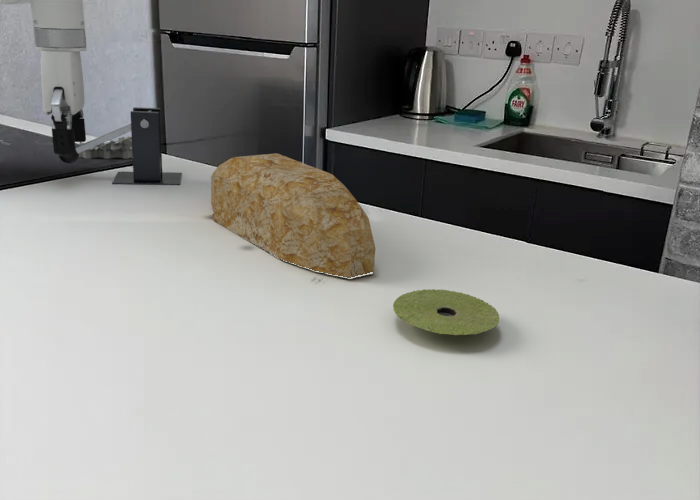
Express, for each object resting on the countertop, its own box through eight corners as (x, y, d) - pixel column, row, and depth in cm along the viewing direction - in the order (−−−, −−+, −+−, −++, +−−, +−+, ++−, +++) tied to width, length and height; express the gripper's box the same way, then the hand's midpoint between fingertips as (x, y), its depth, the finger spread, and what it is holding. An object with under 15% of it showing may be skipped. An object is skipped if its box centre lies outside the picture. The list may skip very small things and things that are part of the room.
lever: (62, 168, 113) (52, 151, 112) (66, 164, 116) (56, 146, 115) (157, 128, 114) (148, 110, 113) (158, 124, 117) (150, 107, 115)
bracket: (112, 190, 114) (107, 112, 109) (118, 178, 121) (114, 105, 117) (180, 190, 116) (178, 115, 111) (182, 178, 123) (180, 107, 119)
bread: (191, 207, 107) (190, 144, 104) (252, 199, 114) (253, 139, 110) (324, 286, 81) (329, 205, 78) (393, 270, 87) (400, 194, 84)
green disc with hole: (408, 354, 67) (410, 336, 66) (380, 305, 77) (381, 289, 76) (515, 349, 69) (518, 331, 68) (473, 302, 79) (475, 287, 79)
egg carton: (138, 156, 138) (137, 136, 136) (135, 164, 131) (134, 143, 129) (82, 155, 135) (80, 134, 134) (76, 163, 129) (74, 142, 127)
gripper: (47, 36, 115) (57, 137, 121) (21, 43, 99) (34, 158, 105) (94, 38, 117) (102, 137, 122) (75, 44, 101) (85, 158, 106)
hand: (70, 147), depth 114 cm, fingers open, 9 cm apart
